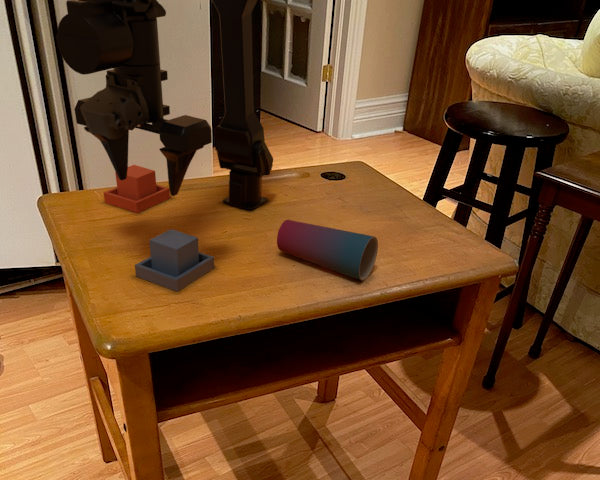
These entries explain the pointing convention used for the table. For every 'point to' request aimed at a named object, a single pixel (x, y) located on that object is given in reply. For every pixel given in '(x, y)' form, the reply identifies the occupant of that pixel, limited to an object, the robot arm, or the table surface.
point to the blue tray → (170, 282)
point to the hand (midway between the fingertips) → (148, 187)
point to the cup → (329, 247)
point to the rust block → (137, 183)
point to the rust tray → (141, 204)
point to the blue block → (174, 252)
